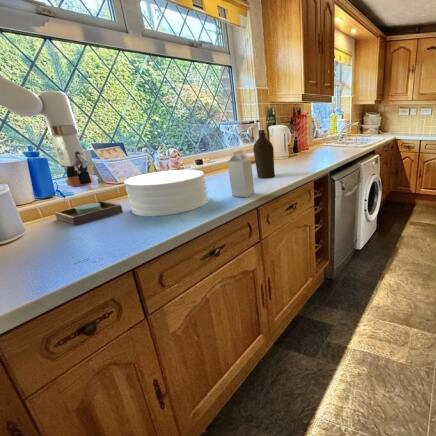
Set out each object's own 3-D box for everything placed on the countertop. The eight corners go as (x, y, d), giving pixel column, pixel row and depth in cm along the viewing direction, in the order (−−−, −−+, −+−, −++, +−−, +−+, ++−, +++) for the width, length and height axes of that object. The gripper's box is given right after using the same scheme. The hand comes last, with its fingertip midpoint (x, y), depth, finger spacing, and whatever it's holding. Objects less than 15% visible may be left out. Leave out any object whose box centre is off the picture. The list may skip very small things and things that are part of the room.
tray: (74, 225, 102) (72, 217, 101) (56, 219, 108) (54, 212, 107) (122, 211, 115) (120, 204, 114) (104, 207, 121) (102, 200, 120)
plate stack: (222, 200, 125) (218, 173, 121) (155, 221, 104) (147, 188, 100) (184, 192, 140) (179, 167, 136) (118, 208, 119) (110, 180, 115)
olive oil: (278, 177, 165) (274, 129, 157) (259, 179, 161) (253, 131, 152) (272, 173, 174) (268, 128, 166) (254, 176, 170) (249, 130, 161)
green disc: (83, 218, 107) (81, 210, 106) (73, 215, 110) (71, 207, 109) (106, 212, 113) (104, 204, 112) (96, 209, 116) (94, 202, 115)
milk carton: (232, 196, 130) (225, 152, 124) (240, 192, 137) (234, 149, 130) (247, 197, 128) (241, 152, 122) (254, 193, 135) (249, 149, 128)
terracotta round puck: (74, 188, 103) (71, 180, 102) (64, 186, 106) (61, 178, 105) (98, 184, 109) (95, 175, 108) (88, 182, 112) (85, 174, 111)
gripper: (38, 132, 102) (56, 182, 108) (61, 132, 94) (79, 187, 100) (65, 130, 108) (80, 178, 114) (89, 130, 100) (104, 182, 106)
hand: (80, 182), depth 107 cm, fingers closed on terracotta round puck, 7 cm apart
